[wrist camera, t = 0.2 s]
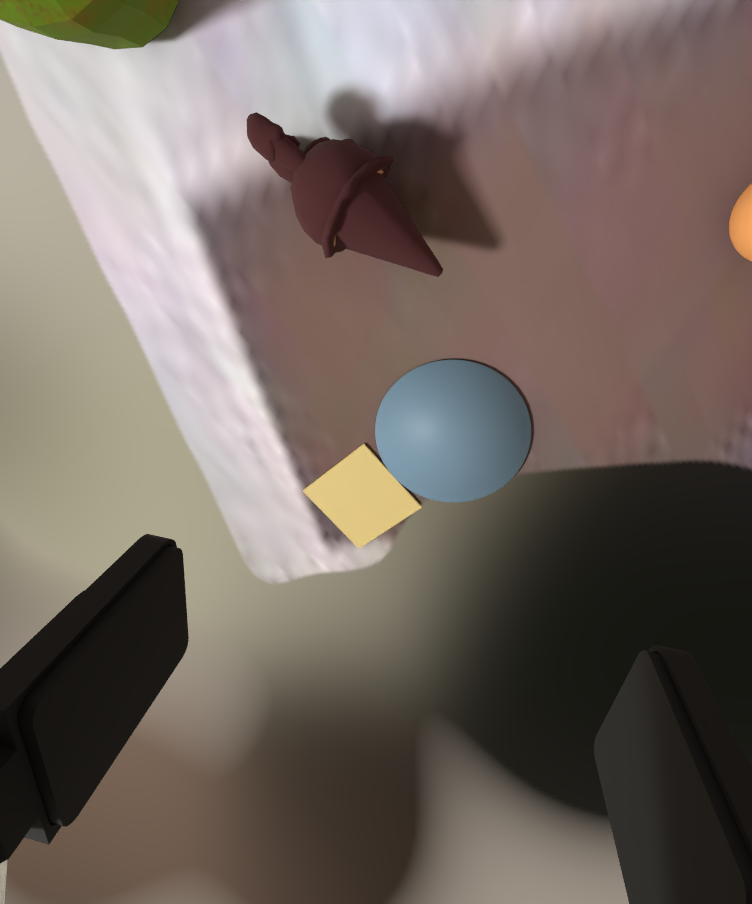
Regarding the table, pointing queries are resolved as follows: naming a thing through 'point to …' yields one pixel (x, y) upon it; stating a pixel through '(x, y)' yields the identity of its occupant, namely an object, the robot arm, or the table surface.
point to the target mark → (453, 430)
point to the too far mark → (362, 496)
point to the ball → (742, 224)
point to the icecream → (343, 197)
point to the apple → (92, 20)
